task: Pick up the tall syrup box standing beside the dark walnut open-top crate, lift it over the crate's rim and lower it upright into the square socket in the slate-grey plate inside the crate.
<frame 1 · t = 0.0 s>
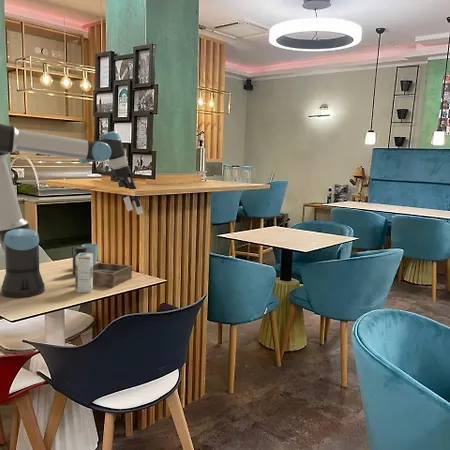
hand: (135, 212, 204), 28 cm above the table, tool tilted 20°, fingers open, 13 cm apart
syrup box: (84, 291, 176), on the table
socket crate: (105, 280, 191), on the table
supplement bottle: (80, 274, 201), on the table
cup: (90, 267, 215), on the table
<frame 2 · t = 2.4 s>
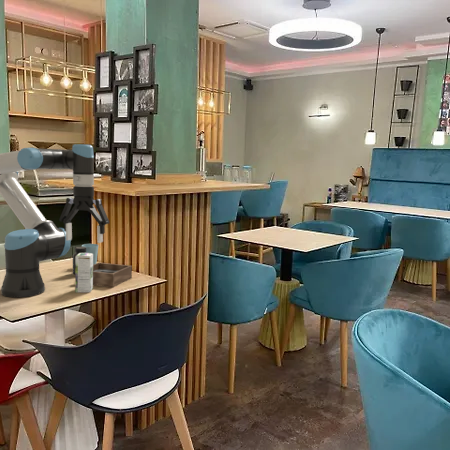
hand: (84, 241, 173), 20 cm above the table, tool pointing down, fingers open, 13 cm apart
nothing on the table moved.
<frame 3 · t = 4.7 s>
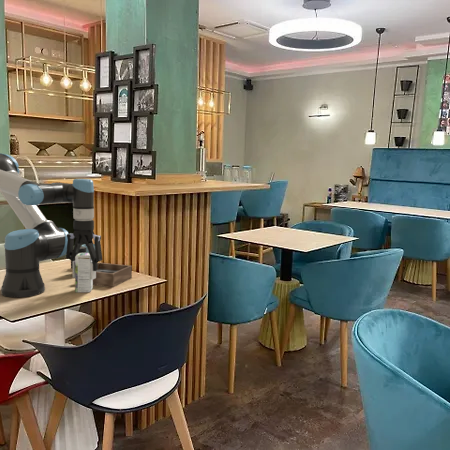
hand: (84, 277, 175), 5 cm above the table, tool pointing down, fingers closed on syrup box, 7 cm apart
syrup box: (84, 291, 176), on the table, touching gripper
everything else where it was.
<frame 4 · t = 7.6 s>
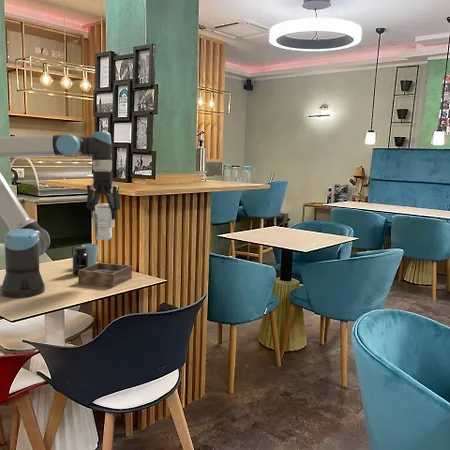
hand: (103, 226, 185), 24 cm above the table, tool pointing down, fingers closed on syrup box, 7 cm apart
syrup box: (104, 239, 186), point 18 cm above the table, touching gripper
everything else where it was.
when the fingers open (8 cm above the table, at t = 10.9 s): syrup box drops 1 cm, resting on socket crate.
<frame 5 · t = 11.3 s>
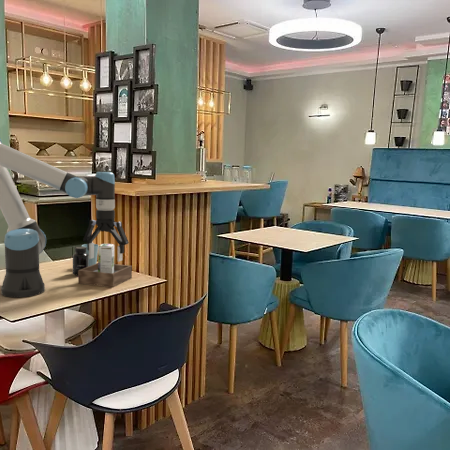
hand: (105, 259, 190), 9 cm above the table, tool pointing down, fingers open, 13 cm apart
syrup box: (106, 278, 191), point 1 cm above the table, touching socket crate
everything else where it was.
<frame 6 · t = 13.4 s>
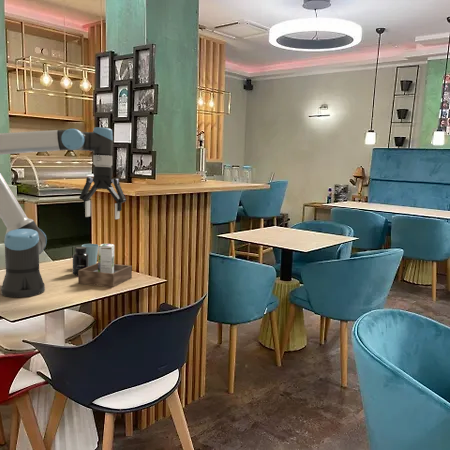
hand: (102, 217, 187), 27 cm above the table, tool pointing down, fingers open, 13 cm apart
nothing on the table moved.
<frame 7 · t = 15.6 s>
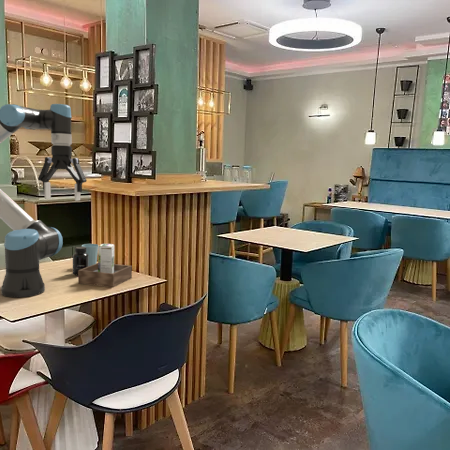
hand: (62, 199, 178), 35 cm above the table, tool pointing down, fingers open, 13 cm apart
nothing on the table moved.
at the end: syrup box 0.3 cm off-centre on the socket crate, point 0.8 cm above the socket crate's base; syrup box tilted 0°; the gripper is holding nothing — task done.
